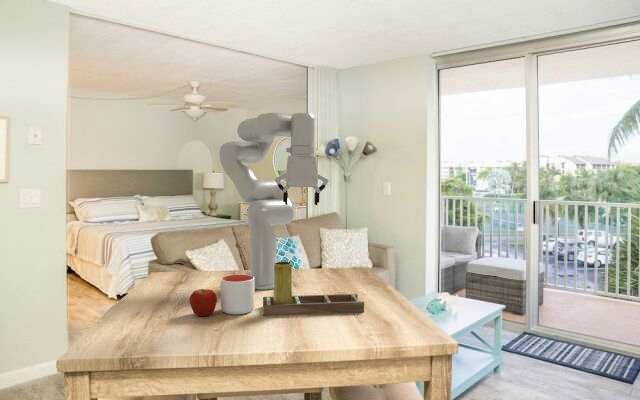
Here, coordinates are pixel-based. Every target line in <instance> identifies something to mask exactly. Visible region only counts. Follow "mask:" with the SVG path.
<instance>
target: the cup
mask: <svg viewBox="0 0 640 400" xmlns="http://www.w3.org/2000/svg"><path fill="white" fill-rule="evenodd" d="M255 295H256V294H255V289H254V277H253V276H250V275H245V274H230V275H224V276H222V277H221V278H220V309H221V311H222V312H224V313H225V314H228V315H244V314H248V313H250V312H252V311H253V310H254V309H255V305H256V303H255V302H256V301H255V299H256V298H255V297H256V296H255Z"/></svg>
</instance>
